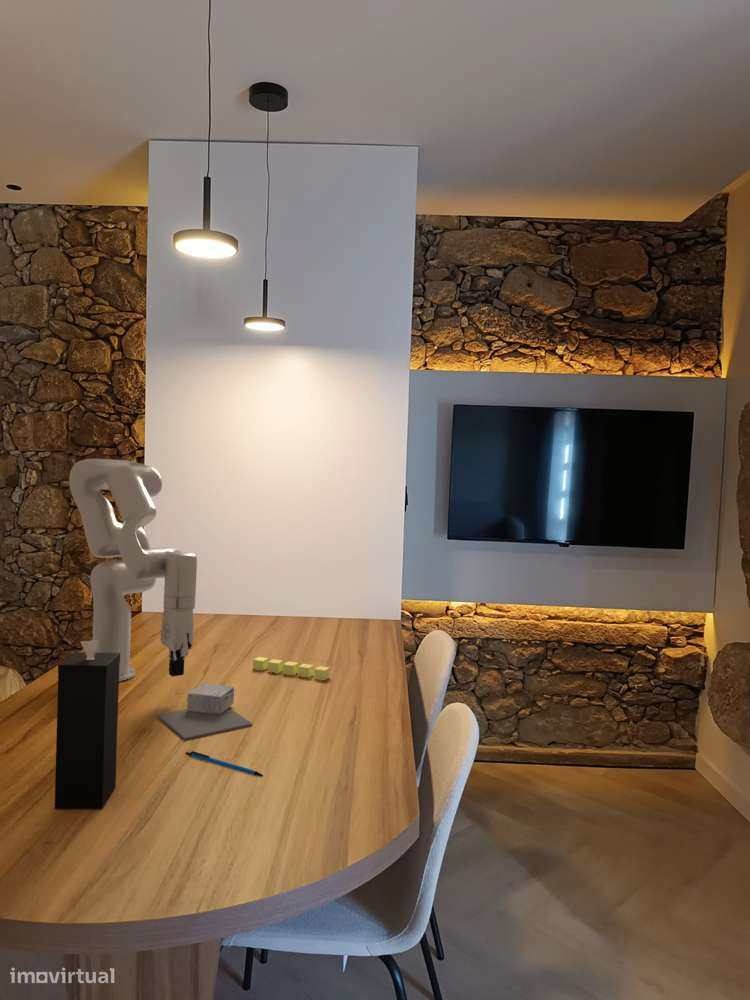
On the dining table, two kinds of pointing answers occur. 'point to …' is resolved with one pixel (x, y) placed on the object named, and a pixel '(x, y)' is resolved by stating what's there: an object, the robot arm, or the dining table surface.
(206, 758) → the pen
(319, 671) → the yellow cube line
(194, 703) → the medicine box
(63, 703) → the tissue box
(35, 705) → the dining table surface
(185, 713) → the mat
